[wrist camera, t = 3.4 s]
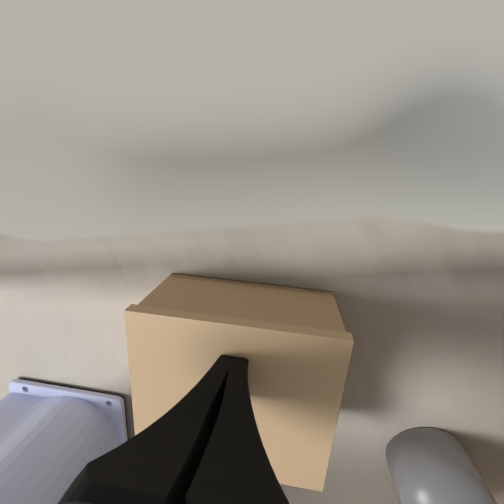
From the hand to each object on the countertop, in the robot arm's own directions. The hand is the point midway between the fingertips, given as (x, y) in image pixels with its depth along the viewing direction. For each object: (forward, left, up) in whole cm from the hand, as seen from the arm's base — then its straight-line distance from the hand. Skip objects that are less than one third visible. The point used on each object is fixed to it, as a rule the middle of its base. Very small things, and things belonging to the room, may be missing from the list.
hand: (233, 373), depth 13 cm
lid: (0, -2, -1) cm, 2 cm away
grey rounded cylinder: (+13, -9, -5) cm, 17 cm away
